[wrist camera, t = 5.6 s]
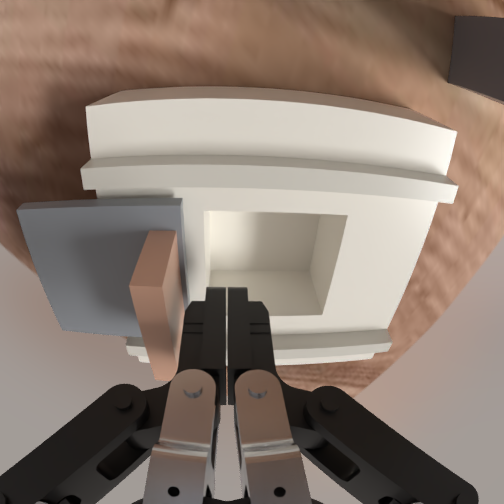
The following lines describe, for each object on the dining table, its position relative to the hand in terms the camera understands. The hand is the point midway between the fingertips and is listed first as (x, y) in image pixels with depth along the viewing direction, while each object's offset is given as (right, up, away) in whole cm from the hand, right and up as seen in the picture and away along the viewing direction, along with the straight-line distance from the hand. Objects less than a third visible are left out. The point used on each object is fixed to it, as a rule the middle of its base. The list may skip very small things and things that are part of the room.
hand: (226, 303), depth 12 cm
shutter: (-5, +1, +1) cm, 5 cm away
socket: (+2, +3, +5) cm, 6 cm away
